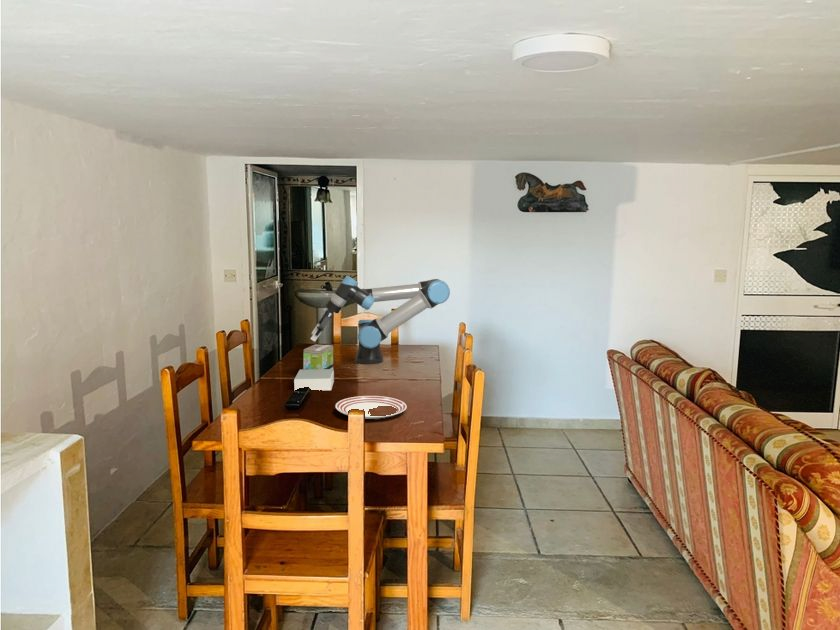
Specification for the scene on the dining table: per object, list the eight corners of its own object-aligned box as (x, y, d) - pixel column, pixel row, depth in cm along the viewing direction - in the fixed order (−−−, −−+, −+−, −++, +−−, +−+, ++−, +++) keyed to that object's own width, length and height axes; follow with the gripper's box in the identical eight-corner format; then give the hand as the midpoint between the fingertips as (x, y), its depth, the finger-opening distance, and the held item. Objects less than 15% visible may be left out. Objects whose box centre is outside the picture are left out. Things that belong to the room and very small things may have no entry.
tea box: (322, 381, 269) (322, 350, 267) (302, 379, 271) (302, 349, 269) (334, 373, 284) (333, 344, 282) (314, 372, 286) (314, 343, 284)
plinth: (333, 381, 268) (333, 368, 268) (331, 390, 253) (330, 377, 252) (299, 381, 267) (299, 369, 266) (294, 390, 251) (294, 377, 251)
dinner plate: (406, 402, 235) (406, 394, 235) (407, 424, 208) (407, 415, 208) (339, 402, 234) (339, 395, 234) (331, 424, 207) (331, 415, 207)
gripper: (329, 296, 305) (307, 328, 306) (329, 303, 281) (305, 338, 282) (341, 303, 307) (319, 336, 308) (342, 311, 283) (318, 346, 284)
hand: (313, 337), depth 295 cm, fingers open, 13 cm apart
